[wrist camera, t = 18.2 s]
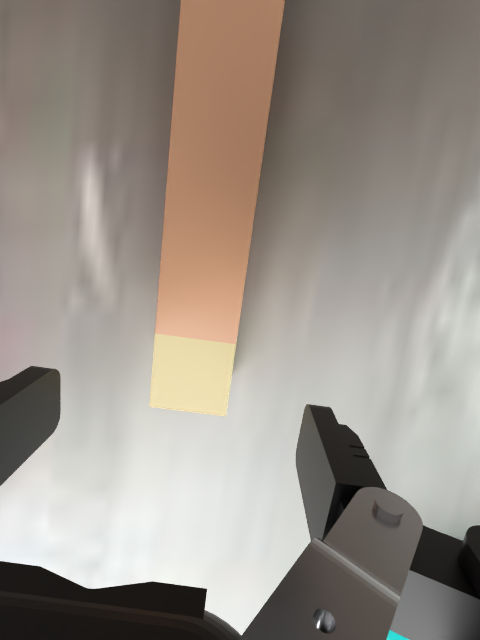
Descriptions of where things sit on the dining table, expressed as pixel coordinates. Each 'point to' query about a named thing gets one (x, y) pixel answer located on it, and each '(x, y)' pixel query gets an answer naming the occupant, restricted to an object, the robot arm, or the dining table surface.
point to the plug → (211, 195)
